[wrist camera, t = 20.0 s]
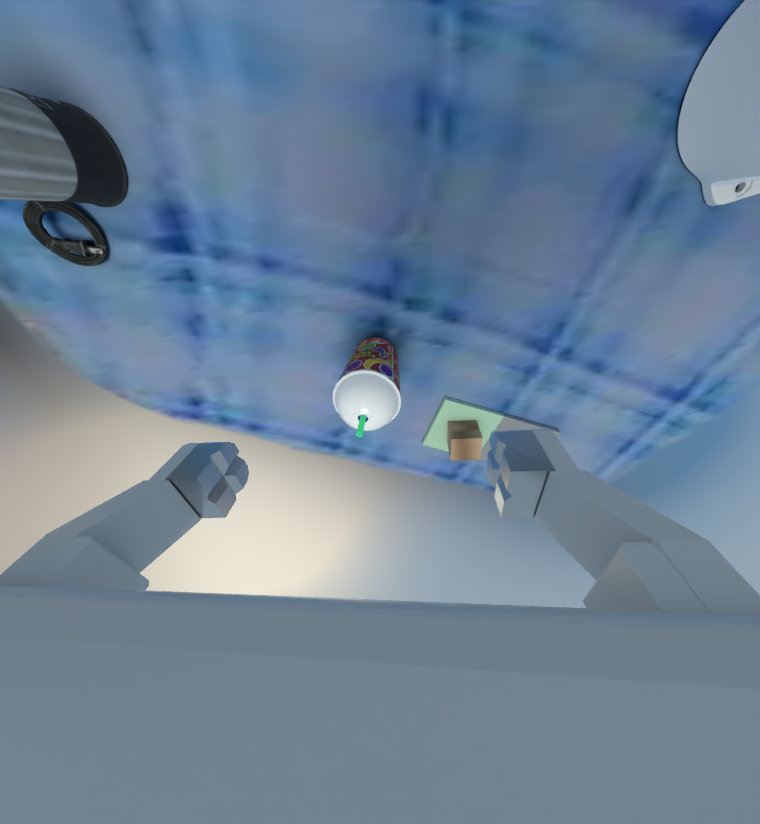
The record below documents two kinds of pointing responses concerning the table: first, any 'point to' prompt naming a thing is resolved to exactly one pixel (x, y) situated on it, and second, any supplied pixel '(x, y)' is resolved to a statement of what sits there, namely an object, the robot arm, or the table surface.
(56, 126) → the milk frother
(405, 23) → the table surface
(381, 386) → the smoothie
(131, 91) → the table surface
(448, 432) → the walnut block
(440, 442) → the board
